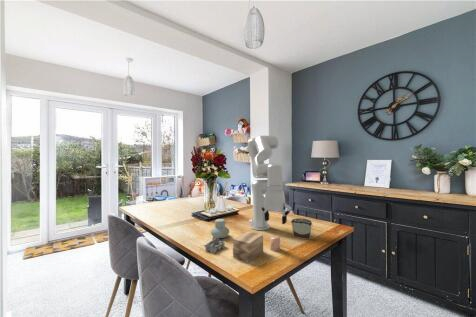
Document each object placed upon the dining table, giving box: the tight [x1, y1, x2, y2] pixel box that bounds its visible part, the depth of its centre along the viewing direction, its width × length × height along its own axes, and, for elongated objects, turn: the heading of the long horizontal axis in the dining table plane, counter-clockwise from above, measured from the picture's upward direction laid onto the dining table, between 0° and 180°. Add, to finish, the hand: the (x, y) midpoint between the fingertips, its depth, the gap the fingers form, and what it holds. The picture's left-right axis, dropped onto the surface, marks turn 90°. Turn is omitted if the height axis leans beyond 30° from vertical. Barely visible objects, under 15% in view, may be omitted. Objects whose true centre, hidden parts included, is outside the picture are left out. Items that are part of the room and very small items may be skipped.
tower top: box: [232, 231, 264, 253], centre depth 109 cm, size 9×13×4 cm
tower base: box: [232, 243, 264, 263], centre depth 110 cm, size 9×13×4 cm
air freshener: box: [210, 218, 230, 239], centre depth 134 cm, size 11×8×10 cm
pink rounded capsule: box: [269, 235, 281, 252], centre depth 115 cm, size 5×5×6 cm
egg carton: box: [203, 237, 226, 253], centre depth 118 cm, size 11×8×4 cm
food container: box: [290, 217, 313, 240], centre depth 132 cm, size 12×6×10 cm, turn 59°
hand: (275, 222), depth 115 cm, fingers open, 9 cm apart
